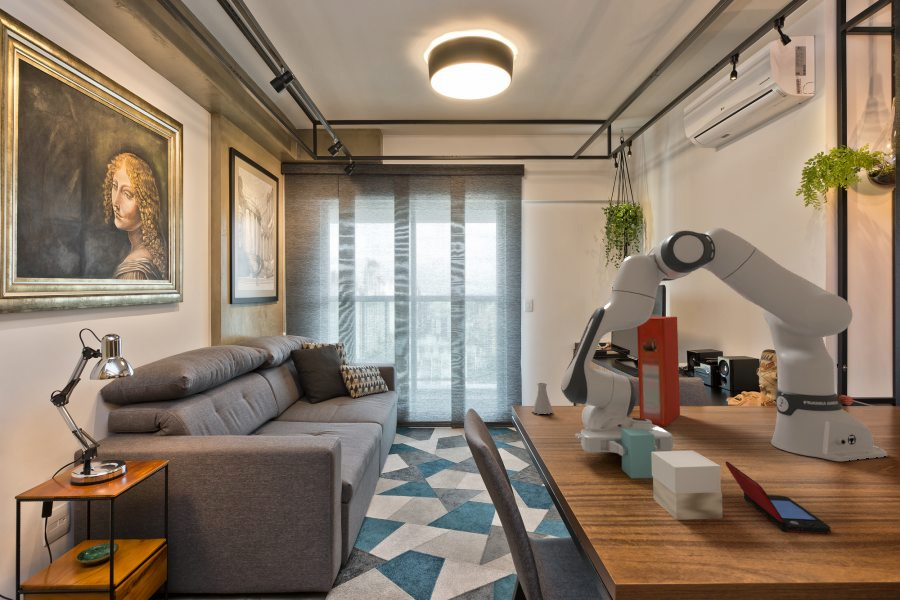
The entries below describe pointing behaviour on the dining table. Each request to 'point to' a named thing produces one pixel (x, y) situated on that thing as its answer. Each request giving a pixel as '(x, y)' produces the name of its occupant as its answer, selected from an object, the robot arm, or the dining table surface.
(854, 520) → the dining table surface
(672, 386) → the file binder
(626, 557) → the dining table surface
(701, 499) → the tower base
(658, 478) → the tower top
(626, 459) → the teal pillar
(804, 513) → the handheld game console
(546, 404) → the flask
